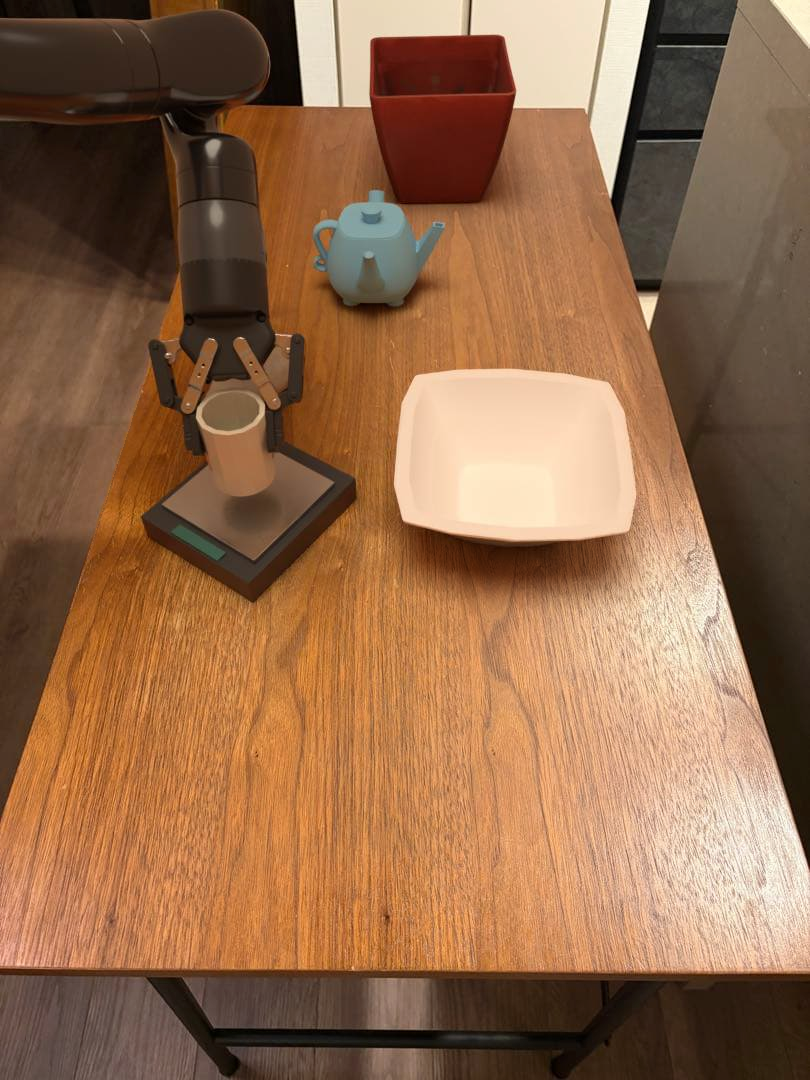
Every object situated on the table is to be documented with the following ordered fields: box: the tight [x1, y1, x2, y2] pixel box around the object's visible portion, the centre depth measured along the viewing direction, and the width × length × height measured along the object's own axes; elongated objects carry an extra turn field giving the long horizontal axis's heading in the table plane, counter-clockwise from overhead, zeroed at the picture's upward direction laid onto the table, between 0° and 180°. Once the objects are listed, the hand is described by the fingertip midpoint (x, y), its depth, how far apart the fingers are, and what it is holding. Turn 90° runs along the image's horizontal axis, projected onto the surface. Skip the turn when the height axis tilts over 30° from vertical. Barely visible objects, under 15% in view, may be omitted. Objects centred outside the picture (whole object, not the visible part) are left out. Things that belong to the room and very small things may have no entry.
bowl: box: [393, 368, 638, 548], centre depth 83 cm, size 22×23×8 cm
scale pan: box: [162, 452, 335, 564], centre depth 83 cm, size 12×12×1 cm
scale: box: [140, 440, 358, 603], centre depth 84 cm, size 16×14×3 cm
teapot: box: [312, 189, 446, 307], centre depth 106 cm, size 15×14×11 cm
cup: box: [196, 388, 276, 496], centre depth 78 cm, size 6×6×8 cm
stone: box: [204, 346, 289, 403], centre depth 95 cm, size 6×6×12 cm
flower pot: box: [368, 34, 517, 204], centre depth 121 cm, size 19×19×17 cm
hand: (236, 454), depth 76 cm, fingers closed on cup, 6 cm apart
